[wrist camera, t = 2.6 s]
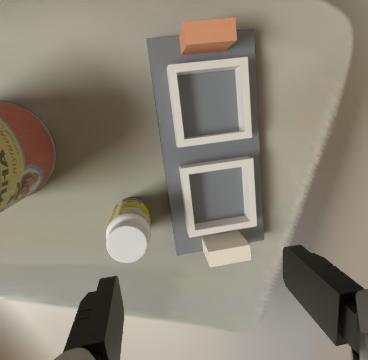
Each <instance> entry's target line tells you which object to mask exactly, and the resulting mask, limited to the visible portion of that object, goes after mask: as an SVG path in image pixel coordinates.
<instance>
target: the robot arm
mask: <svg viewBox="0 0 368 360" xmlns="http://www.w3.org/2000/svg"><path fill="white" fill-rule="evenodd" d="M283 279H284V282H285V285H286V287H287V288H288V289H289V291H290V292H291V293H292V294H293V295H294V297H295V298H296V299H297V300H298V301H299V303H300V304H301V305H302V306H303V307H304V308H305V310H306V311H307V312H308V313H309V314H310V315H311V316H312V318H313V319H314V320H315V322H316V323H317V324H318V325H319V326H320V328H321V329H322V330H323V331H324V332H325V333H326V335H327V336H328V337H329V338H330V339H331V340H332V342H333V343H334V344H335V345H336V346H339V345H343V344H347V343H348V344H349V345H350V346H351V360H368V289H364V288H363V287H361V286H360V285H359V284H357V283H356V282H355V281H354V280H352V279H351V278H350V277H348V276H347V275H346V274H345V273H343V272H342V271H340V270H339V269H338V268H337V267H336V266H333V264H331V263H330V262H329V261H328V260H327V259H325V258H324V257H321V256H319V255H317V254H315V253H310V252H309V251H308V250H306V249H305V248H304V247H303V246H302V245H295V246H288V247H284V249H283ZM123 323H124V308H123V301H122V296H121V291H120V285H119V280H118V277H117V276H113V277H107V278H101V279H100V280H99V284H98V287H97V291H95V292H89V293H88V294H87V295H86V296H85V297H84V298H83V300H82V301H81V302H80V305H79V308H78V311H77V314H76V317H75V321H74V323H73V325H72V328H71V331H70V334H69V337H68V340H67V343H66V346H65V349H64V351H63V353H62V354H61V355H59V356H58V357H57V358H56V359H54V360H120V353H121V342H122V333H123Z"/></svg>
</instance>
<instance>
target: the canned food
mask: <svg viewBox="0 0 368 360" xmlns="http://www.w3.org/2000/svg"><path fill="white" fill-rule="evenodd" d="M55 162H56V150H55V145H54V141H53V139H52V136H51V134H50V132H49V131H48V129H47V127H46V126H45V125H44V124H43V122H42V121H41V120H40V119H39V118H38V117H37V116H35V115H34V114H33V113H32V112H30V111H29V110H27V109H25V108H23V107H21V106H19V105H16V104H14V103H10V102H5V101H0V212H2V211H4V210H5V209H7V208H9V207H10V206H12V205H13V204H15V203H17V202H18V201H20V200H22V199H23V198H25V197H27V196H29V195H31V194H33V193H35V192H36V191H38V190H39V189H41V188H42V187H43V186H44V185H45V184H46V183H47V181H48V180H49V179H50V177H51V175H52V173H53V170H54V167H55Z"/></svg>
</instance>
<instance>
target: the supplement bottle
mask: <svg viewBox="0 0 368 360" xmlns="http://www.w3.org/2000/svg"><path fill="white" fill-rule="evenodd" d="M150 237H151V221H150V211H149V208H148V206H147V205H146V204H145V203H144V202H143V201H141V200H139V199H136V198H128V199H124V200H122V201H121V202H119V203H118V204H117V205H116V207H115V208H114V211H113V213H112V216H111V219H110V221H109V224H108V226H107V230H106V239H107V242H106V247H107V251H108V253H109V254H110V256H111V257H112V258H113V259H115V260H117V261H119V262H123V263H130V262H134V261H136V260H138V259H140V258H141V257H142V256H143V255H144V253H145V252H146V249H147V244H148V243H149V240H150Z"/></svg>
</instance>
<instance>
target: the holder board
mask: <svg viewBox="0 0 368 360" xmlns="http://www.w3.org/2000/svg"><path fill="white" fill-rule="evenodd" d="M147 46H148V53H149V61H150V68H151V75H152V82H153V89H154V96H155V103H156V111H157V118H158V125H159V132H160V139H161V146H162V153H163V161H164V168H165V175H166V182H167V189H168V196H169V204H170V211H171V218H172V225H173V232H174V239H175V246H176V252H177V255H182V254H188V253H193V252H199V251H203V252H204V254H205V256H206V259H207V261H208V263H209V266H210V267H215V266H220V265H226V264H231V263H236V262H242V261H247V260H251V254H250V244H249V242H255V241H261V240H264V227H263V206H262V185H261V165H260V144H259V123H258V103H257V82H256V61H255V41H254V29H247V30H236V17H233V18H221V19H209V20H197V21H185V22H184V23H183V26H182V29H181V32H180V34H179V36H169V37H158V38H147Z"/></svg>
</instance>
